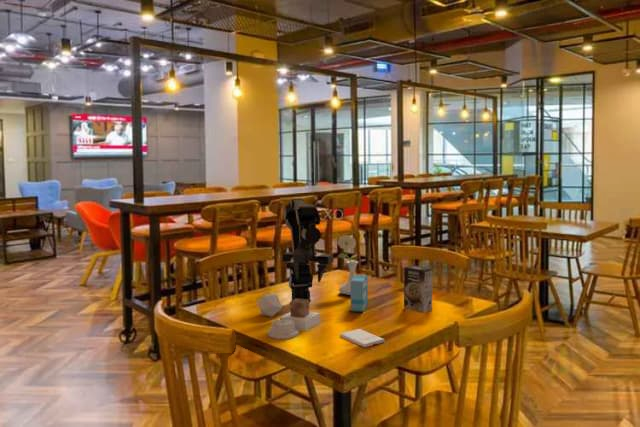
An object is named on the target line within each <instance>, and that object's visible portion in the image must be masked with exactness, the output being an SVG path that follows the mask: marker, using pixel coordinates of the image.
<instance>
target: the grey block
mask: <svg viewBox="0 0 640 427" xmlns="http://www.w3.org/2000/svg"><path fill="white" fill-rule="evenodd" d="M320 314H321V313H320V312H314V311H309V314H308V315H307V316H306V317H292V316H291V313H290V311H289V312H288V313H285V314H283V315H281V316H279V320H281V319H288V320H289V319H290V320H292V321H294V323H295V328H297V329H298V331H302V332H307V331H309V330H310V329H313V328H314V327H316V326H318V325H320V318H321V316H320Z"/></svg>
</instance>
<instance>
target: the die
mask: <svg viewBox="0 0 640 427" xmlns="http://www.w3.org/2000/svg"><path fill="white" fill-rule="evenodd" d="M256 303H257V306H258V308H259V311H260V314H261V315H262V316H266V317H270V318H272V317H274V316H275V315H277V313H278V312H280V310H282V309H283V305H282V303H281V302H280V298H279V297H278V294H275V293H269V292H266V293H265V294H263V296H262V297H260V298H259V300H258V301H256Z"/></svg>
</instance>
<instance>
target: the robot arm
mask: <svg viewBox="0 0 640 427" xmlns="http://www.w3.org/2000/svg"><path fill="white" fill-rule="evenodd" d="M283 219H284V220H285V226H286V227H287V228H288V229H289V230H290V238H291V246H292V251H287V252H285V253H283V254H282V255H281V261H282V262H285V263H284V264H286V265H287V266H289V267H290V269H291V270H290V274H289V278H288V287H289V288H290V289H291V300H290V302H291V301H293V300H294V299H309V303H310V302H311V301H312V300H311V291H310V288H312V287H313V279H314V275H313V273H312V271H311V266H310V265H309V263H307V261H308V262H309V261H310V262H317V263H318V264H316V266H317V270H318V271H317V282H318V283H320V282H321V280H322V278H323V275H324V273H325V271H326V268H327V267H328V265H331V264H332V263H334V256H333V255H332V254H327V253H322V254H319V255H317V251H316V245H317V243H318V242H319V241H320V240H321V238H322V234H321V231H320V230H319V229H318V228H317V226H319V225H321V223H320V222H321V216H320V212H319V209H318V208H317V207H316V205H315V204H307V203H306V202H305V200H304V198H292V199H290V202H288V204H287V205H285V206H284V210H283ZM290 302H289V303H290Z"/></svg>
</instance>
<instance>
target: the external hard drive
mask: <svg viewBox="0 0 640 427" xmlns="http://www.w3.org/2000/svg"><path fill="white" fill-rule="evenodd" d="M339 335H340V338H342V339H345V340H347V341H349V342H352V343H354V344H356V345H358V346H361V347H363V348H367V347H372V346H374V345H378V344H382V343H385V342H386V339H385V338H382V337H380V336H377V335H375V334H373V333H370V332H368V331H366V330H363V329H361V328H358V329H353V330H350V331H345V332H340V334H339Z"/></svg>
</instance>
